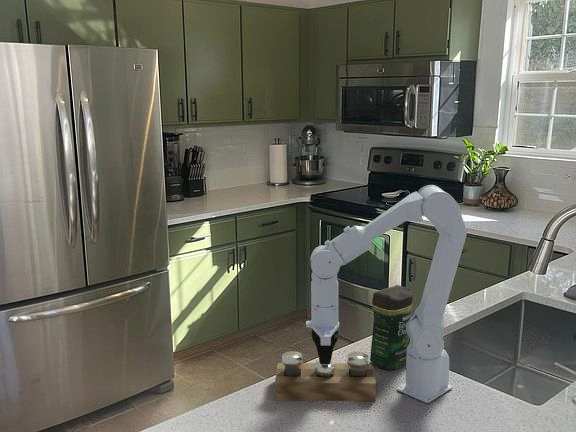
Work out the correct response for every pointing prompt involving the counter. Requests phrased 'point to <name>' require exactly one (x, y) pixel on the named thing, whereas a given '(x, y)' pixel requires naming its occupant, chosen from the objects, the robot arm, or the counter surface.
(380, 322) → the coffee jar
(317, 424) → the counter surface
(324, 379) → the block
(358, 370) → the knob
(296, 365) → the knob
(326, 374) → the middle knob
